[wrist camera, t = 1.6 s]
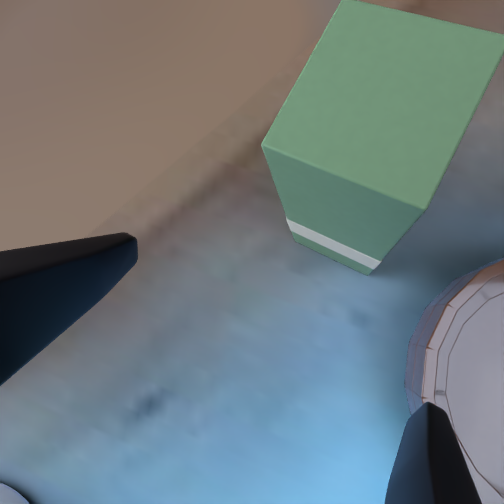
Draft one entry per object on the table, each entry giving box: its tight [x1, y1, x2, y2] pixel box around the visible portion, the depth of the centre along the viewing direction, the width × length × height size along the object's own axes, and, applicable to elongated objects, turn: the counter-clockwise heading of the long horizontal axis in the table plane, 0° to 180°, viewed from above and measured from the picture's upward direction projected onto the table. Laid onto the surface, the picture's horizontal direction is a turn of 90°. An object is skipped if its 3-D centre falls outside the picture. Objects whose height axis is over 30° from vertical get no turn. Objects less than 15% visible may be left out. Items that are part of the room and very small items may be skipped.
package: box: [261, 0, 504, 276], centre depth 17 cm, size 6×6×13 cm
